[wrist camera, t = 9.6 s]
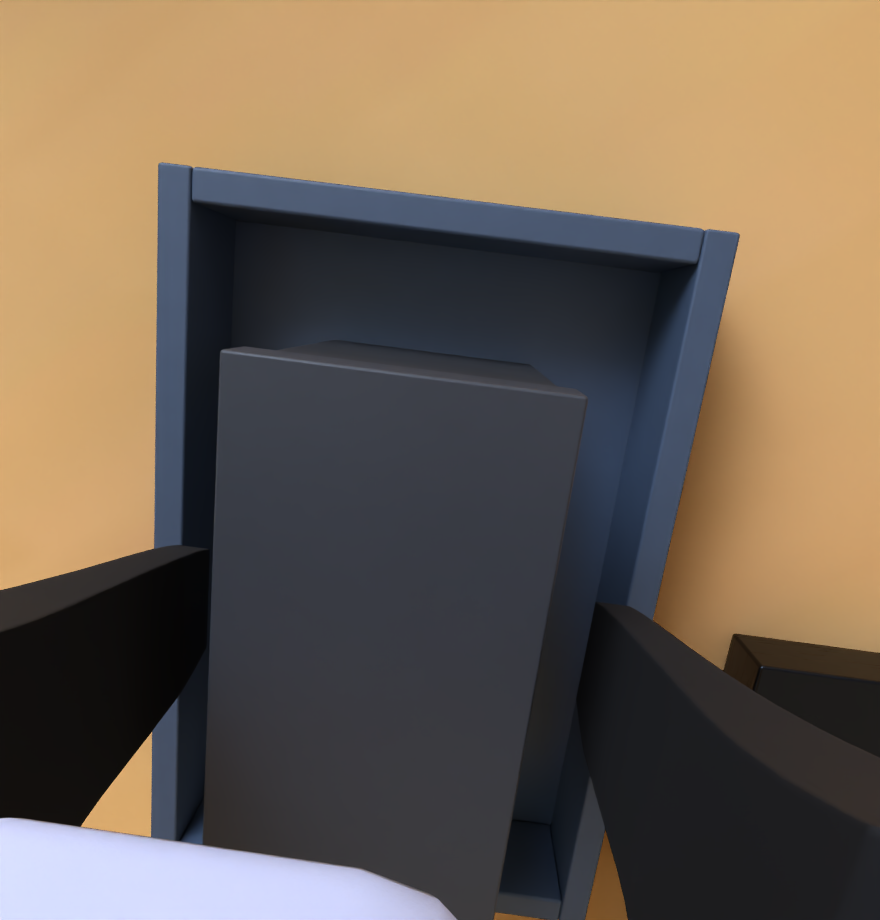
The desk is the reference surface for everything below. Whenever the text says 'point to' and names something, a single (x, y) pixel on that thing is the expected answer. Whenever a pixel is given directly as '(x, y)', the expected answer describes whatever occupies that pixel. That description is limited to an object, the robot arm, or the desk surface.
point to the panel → (814, 684)
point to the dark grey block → (381, 606)
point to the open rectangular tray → (465, 334)
